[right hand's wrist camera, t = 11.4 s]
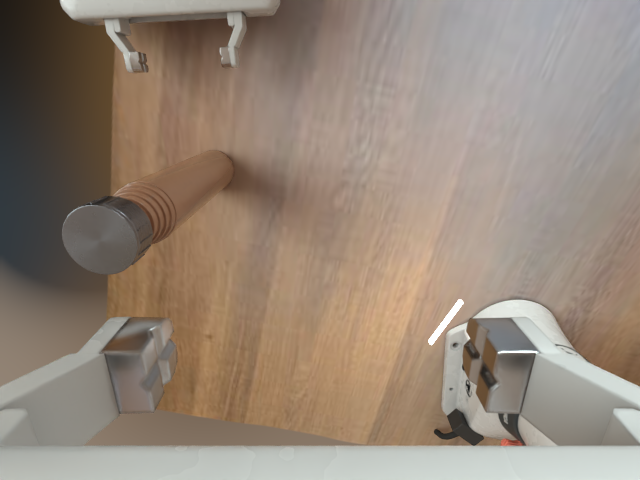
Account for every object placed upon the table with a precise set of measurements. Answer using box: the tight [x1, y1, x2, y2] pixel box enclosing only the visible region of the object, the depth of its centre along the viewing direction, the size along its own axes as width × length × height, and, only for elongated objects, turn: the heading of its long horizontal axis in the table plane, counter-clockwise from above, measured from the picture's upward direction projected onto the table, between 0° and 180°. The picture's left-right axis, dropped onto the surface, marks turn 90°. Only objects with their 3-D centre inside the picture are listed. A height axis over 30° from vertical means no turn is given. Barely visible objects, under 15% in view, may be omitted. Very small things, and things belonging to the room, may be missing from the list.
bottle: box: [113, 150, 234, 244], centre depth 35 cm, size 5×5×26 cm
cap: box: [62, 196, 153, 274], centre depth 24 cm, size 5×5×2 cm
